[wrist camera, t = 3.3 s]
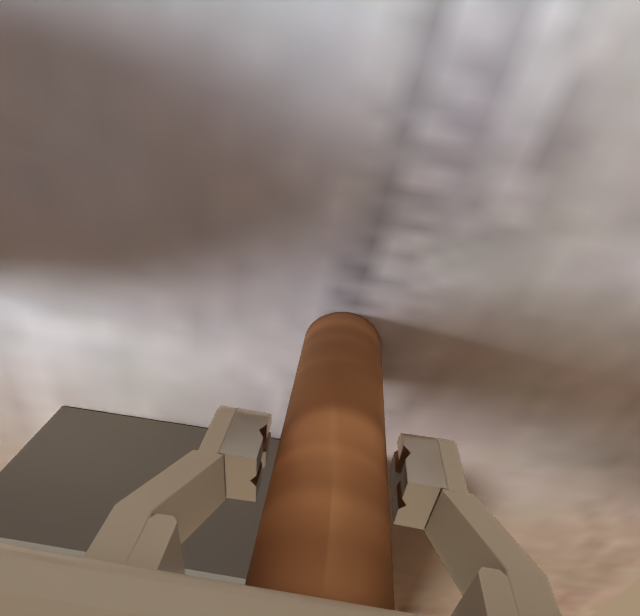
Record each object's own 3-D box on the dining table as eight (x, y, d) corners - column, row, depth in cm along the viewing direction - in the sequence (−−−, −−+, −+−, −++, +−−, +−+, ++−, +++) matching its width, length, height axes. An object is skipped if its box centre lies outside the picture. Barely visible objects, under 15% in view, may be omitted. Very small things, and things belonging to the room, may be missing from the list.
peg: (307, 307, 14) (221, 633, 6) (387, 318, 14) (417, 668, 6) (301, 368, 16) (226, 698, 7) (373, 379, 16) (381, 726, 7)
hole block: (62, 406, 19) (-53, 528, 14) (347, 449, 18) (339, 594, 13) (113, 556, 26) (50, 673, 21) (318, 591, 25) (306, 720, 20)
